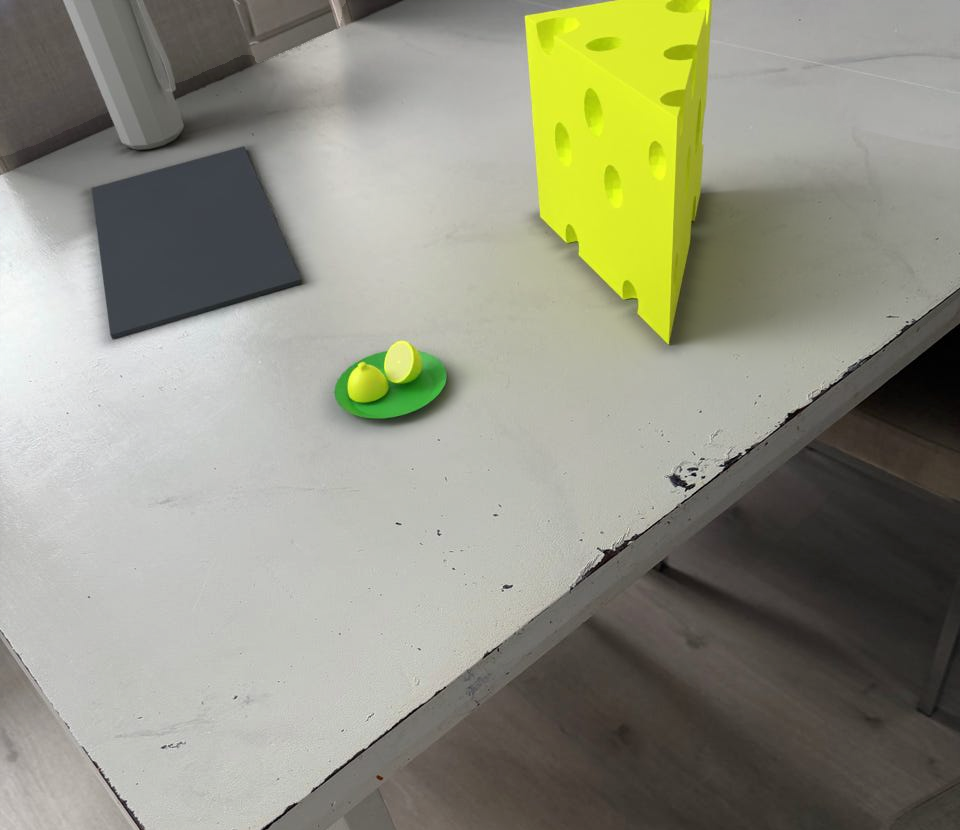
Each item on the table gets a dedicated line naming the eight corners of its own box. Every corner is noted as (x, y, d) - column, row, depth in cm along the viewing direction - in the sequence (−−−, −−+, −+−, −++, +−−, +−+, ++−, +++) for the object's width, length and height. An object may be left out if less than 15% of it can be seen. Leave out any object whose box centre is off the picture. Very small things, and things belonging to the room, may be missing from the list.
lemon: (401, 344, 68) (393, 309, 65) (471, 384, 63) (465, 349, 61) (314, 395, 65) (304, 361, 63) (381, 441, 60) (372, 406, 58)
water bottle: (106, 152, 98) (-21, -146, 79) (150, 120, 102) (40, -170, 83) (172, 158, 95) (56, -152, 76) (215, 125, 99) (116, -176, 80)
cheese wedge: (805, 215, 72) (838, -5, 60) (668, 345, 63) (677, 118, 52) (601, 170, 81) (597, -28, 69) (459, 278, 72) (427, 73, 61)
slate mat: (93, 191, 92) (91, 187, 92) (245, 149, 94) (243, 145, 94) (112, 339, 73) (110, 334, 73) (302, 283, 75) (300, 279, 75)
